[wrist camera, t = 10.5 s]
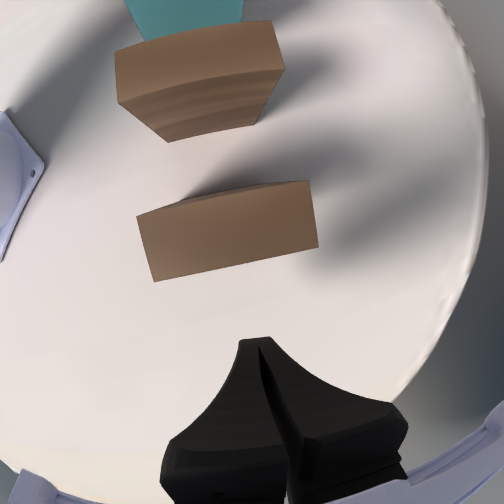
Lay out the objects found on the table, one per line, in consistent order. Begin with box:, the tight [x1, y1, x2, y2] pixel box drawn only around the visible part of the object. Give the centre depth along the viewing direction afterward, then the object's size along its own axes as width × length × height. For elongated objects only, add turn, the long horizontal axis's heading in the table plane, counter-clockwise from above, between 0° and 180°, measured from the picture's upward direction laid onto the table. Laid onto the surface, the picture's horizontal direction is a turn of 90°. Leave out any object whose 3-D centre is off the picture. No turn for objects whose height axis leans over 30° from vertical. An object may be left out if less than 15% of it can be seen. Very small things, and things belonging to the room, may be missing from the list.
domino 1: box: [124, 0, 244, 41], centre depth 9 cm, size 2×5×8 cm, turn 101°
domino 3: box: [136, 180, 319, 282], centre depth 11 cm, size 2×5×8 cm, turn 101°
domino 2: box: [115, 21, 285, 143], centre depth 10 cm, size 2×5×8 cm, turn 101°
